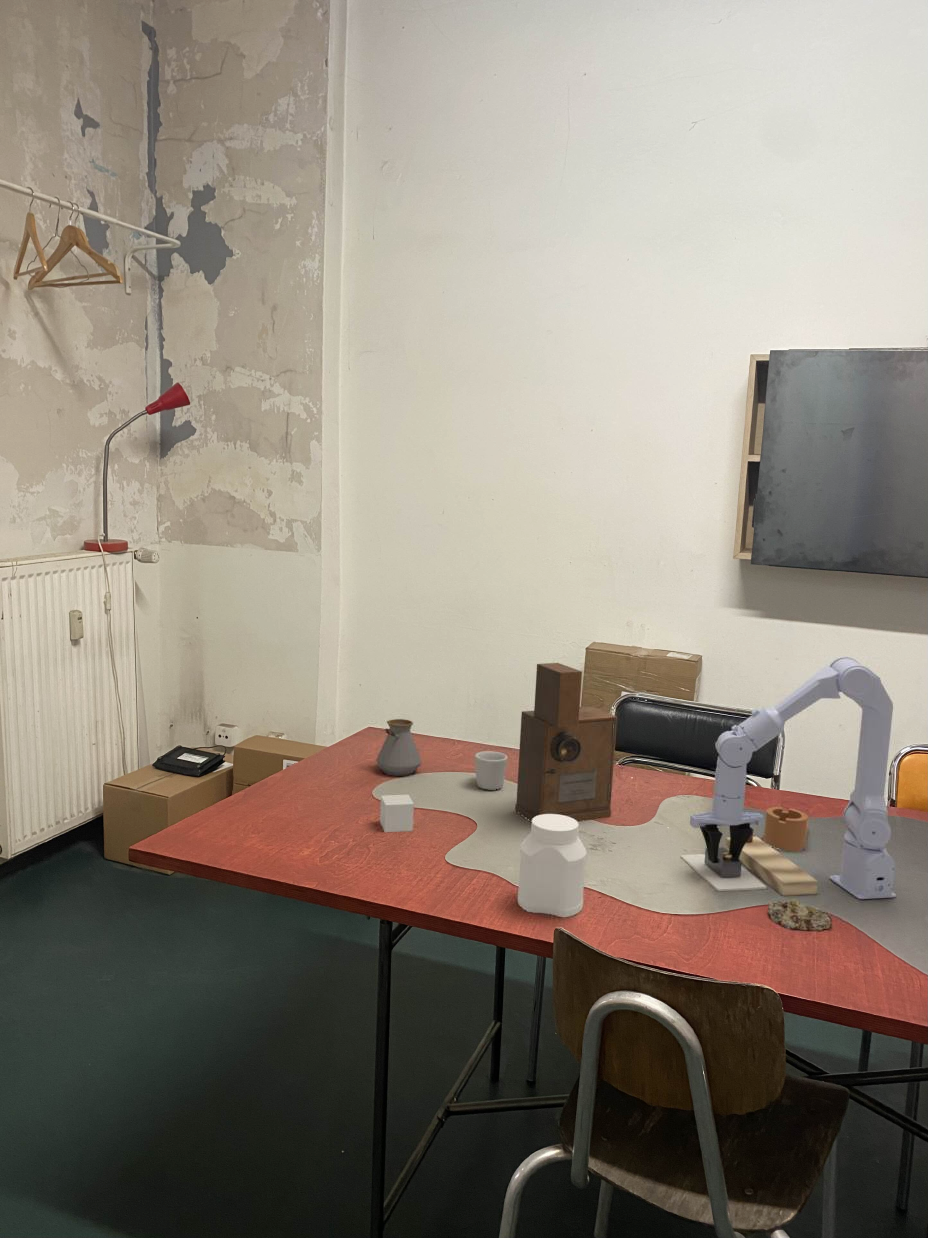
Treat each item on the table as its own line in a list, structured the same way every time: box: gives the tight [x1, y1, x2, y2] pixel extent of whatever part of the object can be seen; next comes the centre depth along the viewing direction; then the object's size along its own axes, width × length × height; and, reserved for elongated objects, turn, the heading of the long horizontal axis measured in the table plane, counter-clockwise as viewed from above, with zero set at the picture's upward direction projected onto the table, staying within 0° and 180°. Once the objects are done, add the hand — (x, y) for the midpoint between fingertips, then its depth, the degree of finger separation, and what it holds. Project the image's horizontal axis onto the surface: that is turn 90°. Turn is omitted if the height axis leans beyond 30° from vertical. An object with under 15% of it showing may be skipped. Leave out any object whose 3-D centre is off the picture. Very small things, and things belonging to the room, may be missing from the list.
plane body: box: [724, 827, 819, 897], centre depth 179 cm, size 22×7×5 cm, turn 12°
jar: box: [517, 814, 587, 918], centre depth 159 cm, size 12×10×15 cm
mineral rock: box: [767, 898, 833, 932], centre depth 158 cm, size 11×4×8 cm
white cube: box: [379, 794, 415, 833], centre depth 193 cm, size 6×6×6 cm
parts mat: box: [679, 853, 768, 892], centre depth 177 cm, size 16×10×1 cm, turn 12°
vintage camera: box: [514, 662, 618, 822], centre depth 201 cm, size 19×14×35 cm
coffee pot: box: [375, 718, 422, 777], centre depth 225 cm, size 21×12×15 cm, turn 171°
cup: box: [474, 750, 509, 791], centre depth 223 cm, size 11×8×8 cm
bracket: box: [763, 806, 810, 852], centre depth 198 cm, size 18×8×7 cm, turn 156°
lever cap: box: [704, 846, 743, 877], centre depth 177 cm, size 7×4×4 cm, turn 12°
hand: (723, 860), depth 177 cm, fingers closed on lever cap, 4 cm apart
